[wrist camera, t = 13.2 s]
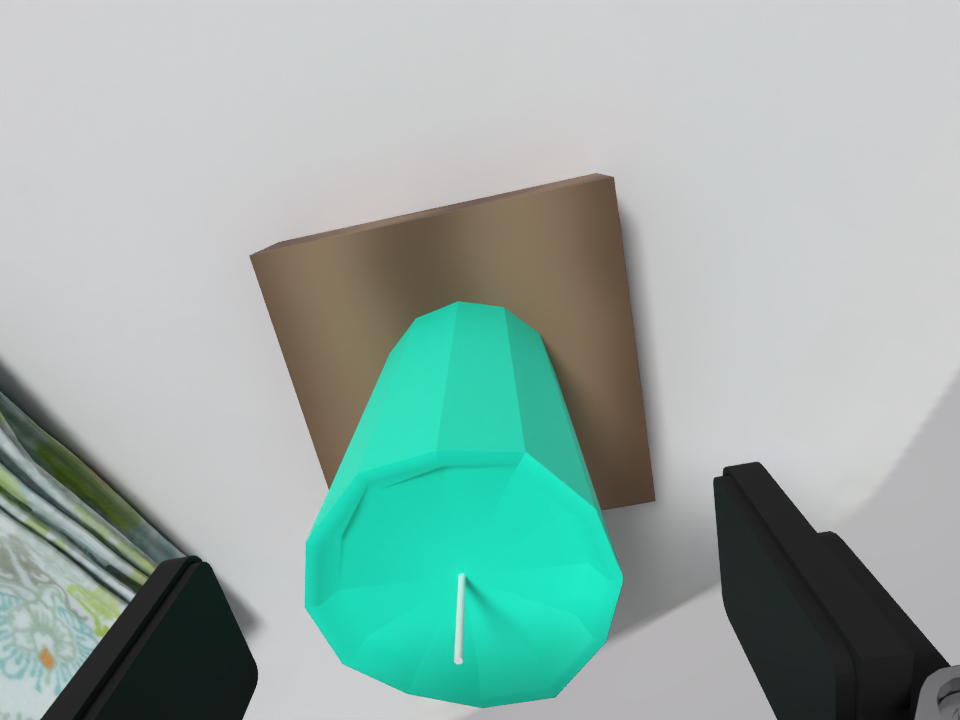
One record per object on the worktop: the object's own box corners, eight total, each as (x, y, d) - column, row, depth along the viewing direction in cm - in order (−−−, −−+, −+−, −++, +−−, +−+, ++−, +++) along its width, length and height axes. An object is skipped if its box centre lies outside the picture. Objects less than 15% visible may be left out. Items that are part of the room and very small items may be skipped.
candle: (588, 397, 21) (714, 687, 10) (456, 487, 22) (431, 835, 11) (486, 264, 19) (494, 425, 8) (349, 368, 21) (192, 634, 9)
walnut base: (596, 173, 21) (613, 177, 19) (636, 461, 25) (655, 501, 22) (279, 242, 22) (249, 255, 19) (365, 510, 26) (350, 554, 23)
